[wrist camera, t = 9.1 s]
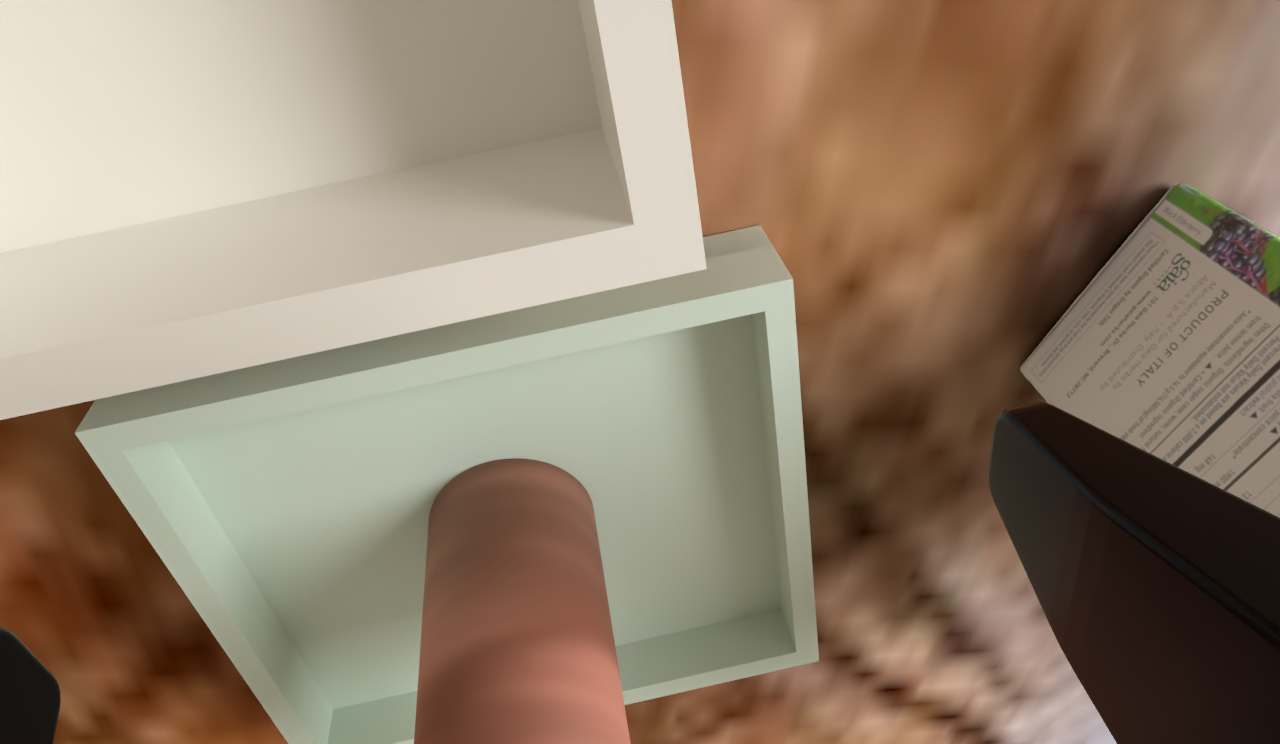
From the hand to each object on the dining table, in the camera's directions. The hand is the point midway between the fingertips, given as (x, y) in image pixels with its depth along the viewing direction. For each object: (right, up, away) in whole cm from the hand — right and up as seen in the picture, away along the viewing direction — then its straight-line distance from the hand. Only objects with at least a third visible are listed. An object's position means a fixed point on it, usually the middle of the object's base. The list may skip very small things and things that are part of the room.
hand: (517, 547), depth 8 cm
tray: (-2, -2, +14) cm, 15 cm away
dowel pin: (-2, -2, +13) cm, 14 cm away
